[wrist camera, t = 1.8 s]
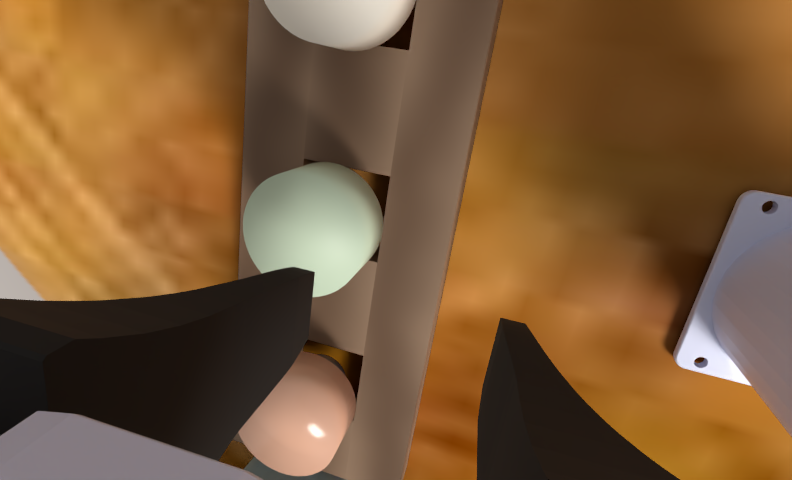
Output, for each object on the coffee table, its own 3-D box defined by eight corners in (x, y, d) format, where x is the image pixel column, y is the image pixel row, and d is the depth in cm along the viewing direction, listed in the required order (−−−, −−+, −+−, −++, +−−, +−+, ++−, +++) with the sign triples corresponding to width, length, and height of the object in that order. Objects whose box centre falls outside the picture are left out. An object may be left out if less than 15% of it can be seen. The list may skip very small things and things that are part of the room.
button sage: (402, 167, 20) (371, 186, 16) (386, 270, 21) (354, 311, 17) (299, 147, 20) (245, 159, 17) (291, 246, 22) (240, 279, 18)
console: (538, -173, 16) (540, -207, 15) (406, 469, 26) (397, 497, 25) (284, -186, 18) (257, -217, 16) (251, 417, 28) (231, 439, 27)
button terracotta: (374, 347, 23) (342, 401, 19) (361, 425, 24) (329, 490, 20) (285, 322, 24) (236, 368, 20) (279, 398, 25) (233, 455, 21)
